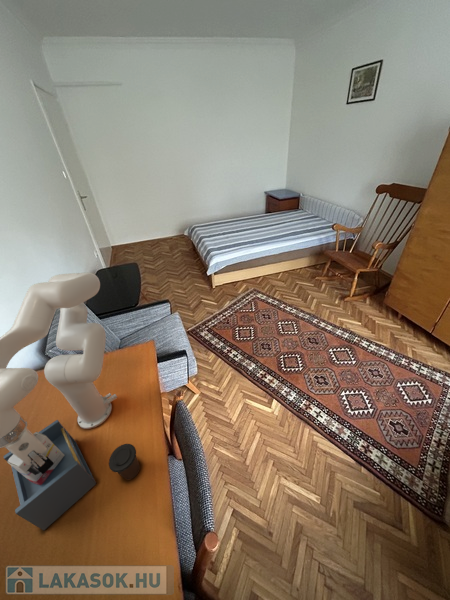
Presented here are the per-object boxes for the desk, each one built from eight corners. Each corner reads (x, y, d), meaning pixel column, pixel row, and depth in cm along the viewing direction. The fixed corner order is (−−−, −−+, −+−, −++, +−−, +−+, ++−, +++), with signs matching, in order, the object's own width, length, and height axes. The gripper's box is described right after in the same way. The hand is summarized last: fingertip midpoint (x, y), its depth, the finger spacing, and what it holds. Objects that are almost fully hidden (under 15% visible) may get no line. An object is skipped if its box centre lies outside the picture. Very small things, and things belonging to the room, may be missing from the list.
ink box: (41, 486, 69) (18, 468, 63) (28, 481, 71) (5, 462, 64) (66, 454, 76) (47, 435, 69) (54, 450, 77) (35, 430, 71)
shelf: (75, 440, 88) (57, 419, 81) (96, 483, 76) (77, 463, 69) (28, 475, 80) (3, 455, 72) (43, 530, 68) (15, 513, 60)
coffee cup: (119, 490, 74) (107, 476, 69) (117, 463, 81) (107, 448, 75) (145, 476, 77) (136, 462, 71) (142, 452, 83) (133, 437, 77)
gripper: (38, 432, 60) (70, 465, 70) (9, 403, 68) (41, 436, 78) (4, 462, 55) (44, 492, 65) (-24, 427, 63) (15, 459, 73)
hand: (42, 462), depth 71 cm, fingers closed on ink box, 5 cm apart
